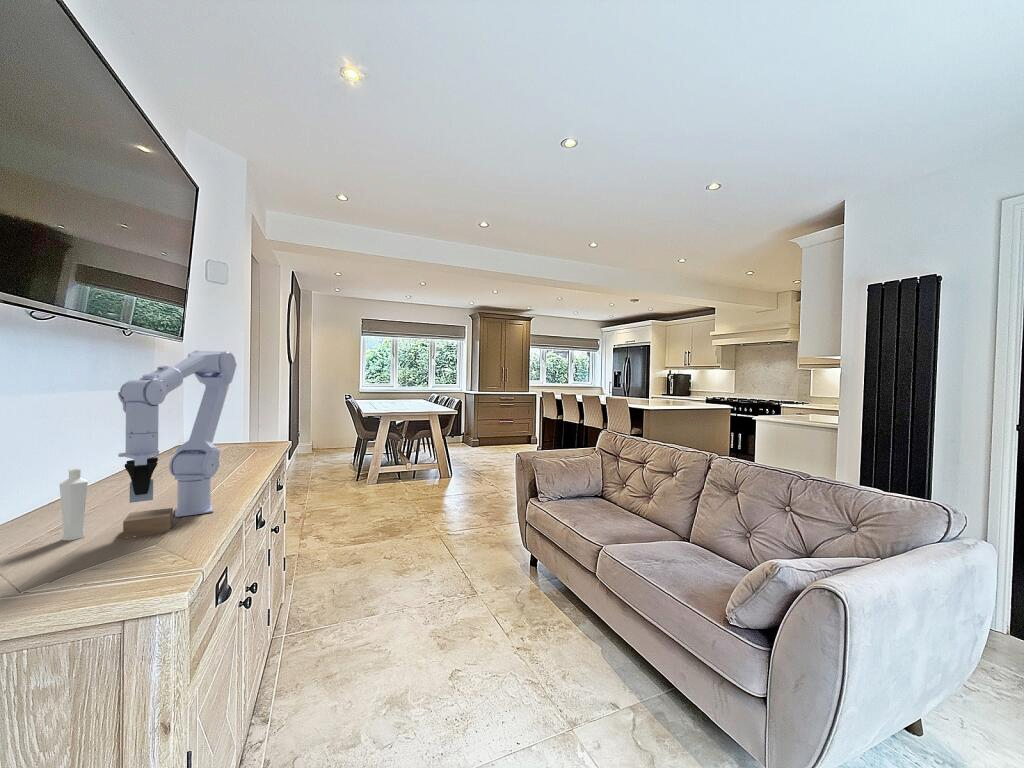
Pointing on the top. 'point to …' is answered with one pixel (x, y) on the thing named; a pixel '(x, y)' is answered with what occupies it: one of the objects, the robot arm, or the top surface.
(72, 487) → the perfume bottle
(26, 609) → the top surface
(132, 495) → the slate-blue cube
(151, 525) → the walnut block
